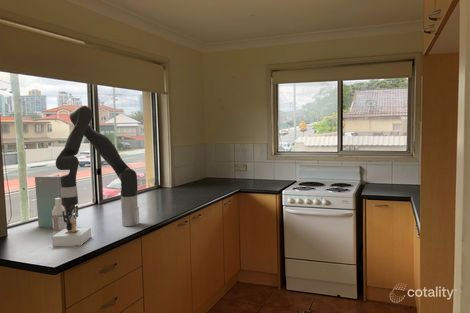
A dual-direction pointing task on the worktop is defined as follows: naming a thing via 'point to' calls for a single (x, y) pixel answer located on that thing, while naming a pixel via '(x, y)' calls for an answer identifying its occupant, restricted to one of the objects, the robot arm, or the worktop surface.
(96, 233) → the worktop surface
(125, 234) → the worktop surface
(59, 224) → the bath foam
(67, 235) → the socket block
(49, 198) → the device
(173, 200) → the worktop surface
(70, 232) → the peg
